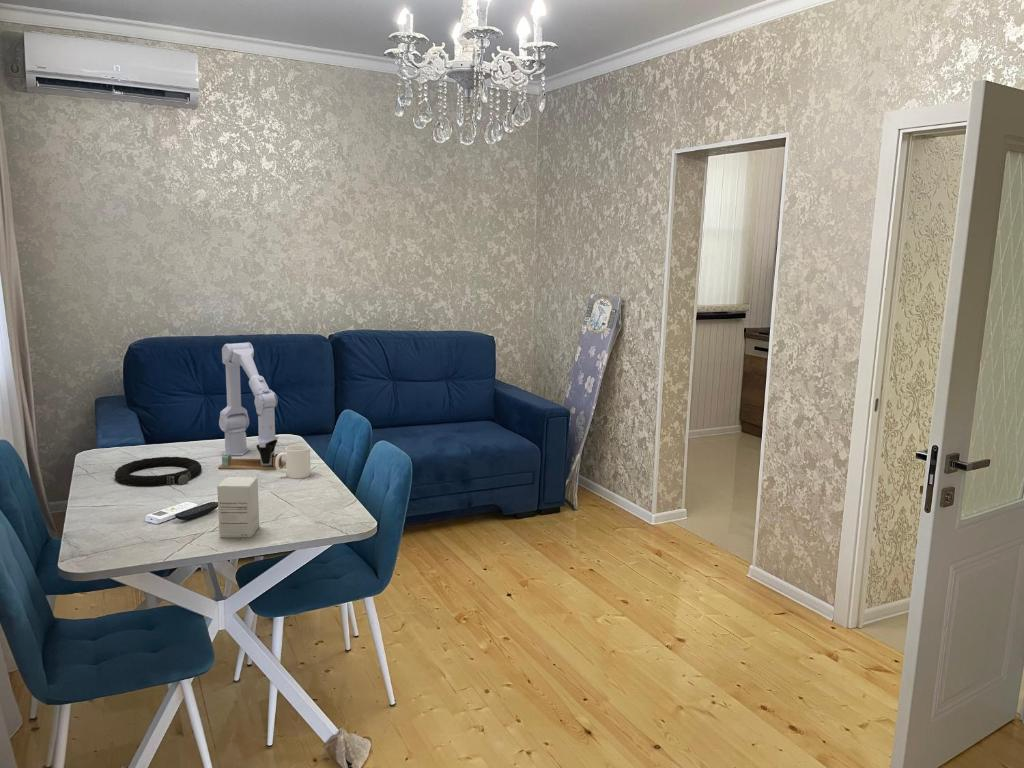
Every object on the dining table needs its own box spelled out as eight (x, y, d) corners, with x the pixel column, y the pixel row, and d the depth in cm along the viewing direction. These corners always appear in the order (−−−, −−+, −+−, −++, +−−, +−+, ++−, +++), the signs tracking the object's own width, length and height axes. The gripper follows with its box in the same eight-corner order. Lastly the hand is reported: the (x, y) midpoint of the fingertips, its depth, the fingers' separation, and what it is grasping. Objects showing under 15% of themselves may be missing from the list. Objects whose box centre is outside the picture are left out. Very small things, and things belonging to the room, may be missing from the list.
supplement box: (228, 526, 216) (226, 476, 213) (260, 526, 216) (258, 476, 214) (218, 538, 207) (216, 485, 204) (251, 538, 207) (249, 486, 205)
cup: (313, 477, 264) (312, 449, 263) (278, 481, 258) (277, 452, 257) (306, 471, 271) (306, 443, 270) (273, 475, 265) (272, 447, 264)
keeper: (263, 462, 277) (263, 450, 277) (274, 462, 278) (274, 450, 277) (260, 465, 273) (260, 453, 272) (271, 465, 274) (271, 453, 273)
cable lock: (175, 451, 280) (221, 466, 262) (176, 461, 281) (221, 476, 263) (98, 466, 258) (142, 483, 241) (99, 476, 259) (143, 495, 241)
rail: (224, 463, 278) (224, 452, 277) (285, 463, 280) (285, 452, 279) (218, 469, 270) (217, 458, 270) (280, 469, 272) (280, 458, 271)
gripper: (273, 430, 266) (274, 467, 269) (282, 421, 280) (283, 456, 283) (252, 430, 266) (254, 467, 268) (262, 421, 280) (263, 456, 282)
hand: (267, 461), depth 275 cm, fingers closed on keeper, 4 cm apart
